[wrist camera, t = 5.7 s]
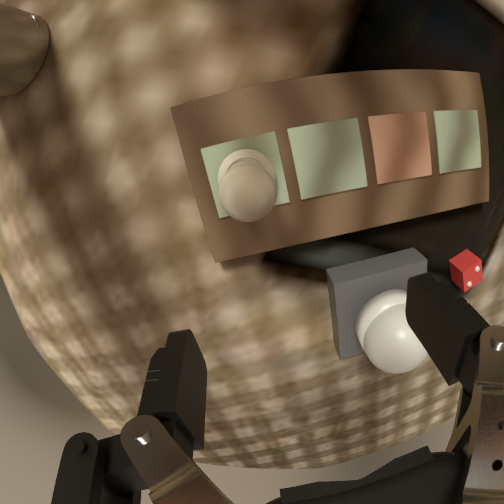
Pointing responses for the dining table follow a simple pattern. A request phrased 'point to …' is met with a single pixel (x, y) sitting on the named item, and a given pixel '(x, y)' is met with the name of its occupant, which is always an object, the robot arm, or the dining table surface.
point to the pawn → (247, 185)
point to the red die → (465, 270)
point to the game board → (340, 152)
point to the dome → (389, 333)
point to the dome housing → (366, 291)
